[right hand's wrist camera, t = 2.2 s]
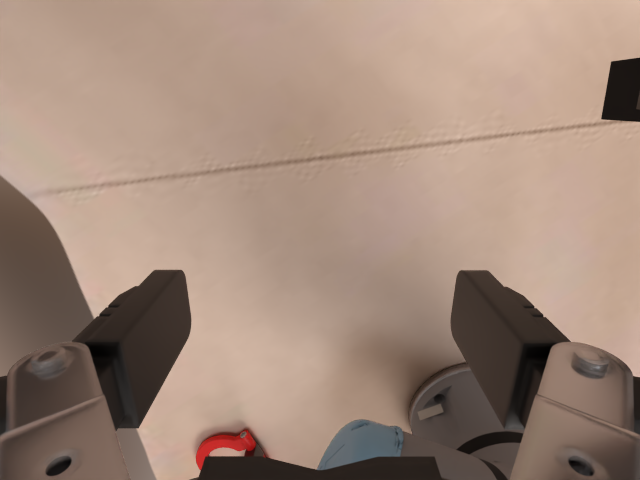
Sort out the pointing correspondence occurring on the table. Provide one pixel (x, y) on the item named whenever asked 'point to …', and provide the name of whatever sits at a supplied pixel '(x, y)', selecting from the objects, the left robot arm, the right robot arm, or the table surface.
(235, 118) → the table surface
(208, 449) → the tow hook
